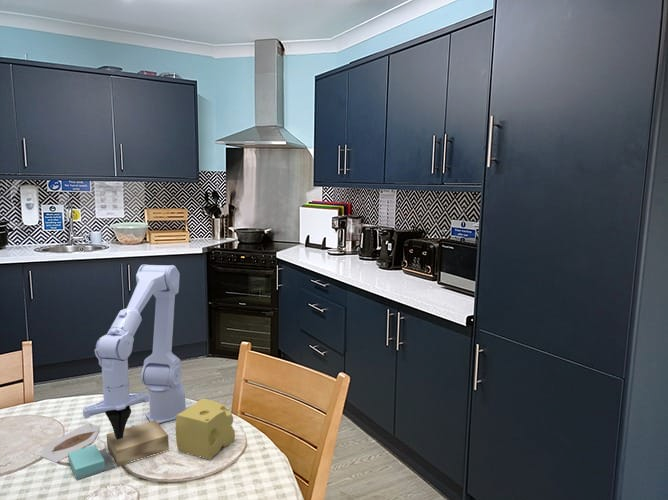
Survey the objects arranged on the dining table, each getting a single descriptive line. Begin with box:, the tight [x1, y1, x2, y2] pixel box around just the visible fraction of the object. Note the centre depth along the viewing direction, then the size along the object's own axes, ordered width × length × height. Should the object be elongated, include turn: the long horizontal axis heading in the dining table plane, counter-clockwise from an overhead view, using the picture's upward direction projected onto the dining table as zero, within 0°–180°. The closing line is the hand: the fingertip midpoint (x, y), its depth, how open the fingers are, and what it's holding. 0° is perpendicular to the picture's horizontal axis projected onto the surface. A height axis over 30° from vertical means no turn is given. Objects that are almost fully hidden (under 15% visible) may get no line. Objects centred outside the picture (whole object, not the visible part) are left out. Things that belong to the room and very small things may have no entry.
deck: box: [106, 420, 170, 468], centre depth 119 cm, size 12×10×4 cm
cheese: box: [175, 398, 236, 460], centre depth 120 cm, size 10×11×10 cm
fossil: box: [37, 422, 101, 464], centre depth 123 cm, size 16×1×10 cm
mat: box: [76, 448, 116, 481], centre depth 113 cm, size 8×10×1 cm
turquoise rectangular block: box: [67, 444, 105, 479], centre depth 112 cm, size 6×9×2 cm, turn 38°
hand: (118, 437), depth 116 cm, fingers closed
